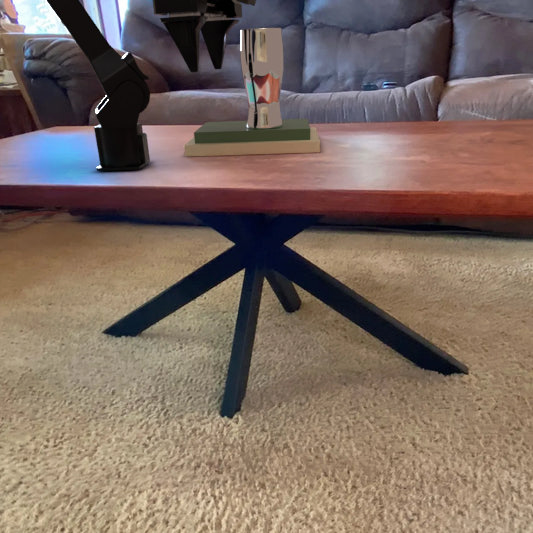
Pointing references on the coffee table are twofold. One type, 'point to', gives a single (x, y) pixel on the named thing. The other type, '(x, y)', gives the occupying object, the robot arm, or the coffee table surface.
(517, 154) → the coffee table surface
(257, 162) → the coffee table surface
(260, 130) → the book stack
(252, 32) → the beer glass
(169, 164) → the coffee table surface
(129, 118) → the robot arm
